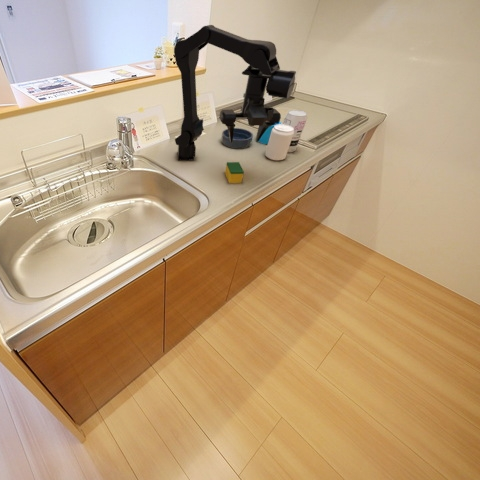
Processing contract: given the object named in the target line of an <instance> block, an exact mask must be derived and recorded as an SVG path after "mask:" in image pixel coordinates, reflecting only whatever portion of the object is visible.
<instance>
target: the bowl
mask: <svg viewBox="0 0 480 480" xmlns="http://www.w3.org/2000/svg"><path fill="white" fill-rule="evenodd" d="M253 137H254V134H253V132H251V131H250V130H248V129H245V128H241V127H240V128H239V127H234V133H233V140H232V143H231V142H230V138H229V133H228V128H226V129H224V130H222V132H221V140H220V141H221V143H222V144H223V145H224V146H225V147H228V148H231V149H236V150H238V149H245V148H249V147H250V146H251V145H252V143H253Z"/></svg>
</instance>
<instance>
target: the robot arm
mask: <svg viewBox="0 0 480 480" xmlns="http://www.w3.org/2000/svg"><path fill="white" fill-rule="evenodd" d="M207 45H211V46H213V47H216V48H219V49H221V50H224V51H226V52H229V53H231V54H234V55H236V56H238V57H240V58H241V59H242V60H243V61H244V62H245V63H246V64H248V66H247V67H246V68H245V69H244V70H243V71H242V72H241V74H242V75H244V76H248V77H247V81H246V85H245V86H246V87H245V92H244V93H243V95H242V97H243V101H242V106H241V107H240V112H235V111H234V110H233V109H221V110H220V111H219V116H218V119H219V121H220V122H221V124H223V125H224V126H225V127H226V129H228V133H229V138H230V142H231V143H232V140H233V133H234V128H236V124H235V123H236V122H237V121H238V120H247V123H248V125H249V126H250V127H255V126H258V127H257V132H256V137H255V141H256V143H259V142H258V141H259V140H260V138H261V137H262V135H263V134H264V132H265V131H266V130H267V128H268V127H270V126H272V125H275V123H279V122H281V118H282V115H281V113H280V112H279V110H277V109H276V108H274V107H273V106H272V107H267V106H265V99H266V98H264V97H265V92H266V94H267V95H268V96H270V97H276V98H280V99H287V100H288V99H290V97H291V95H292V93H293V90H294V88H295V85H296V83H295V82H296V74H297V71H296V70H283V69H281V66H280V63H279V60H278V58H277V48H276V44H275V43H274V42H272V41H269V40H260V39H249V38H246V37H242V36H240V35H237V34H235V33H232V32H230V31H227V30H224V29H221V28H219V27H216V26H214V25H213V24H207V25H203V26H202V27H201V28H200V29H198V31H196V32H195V33H193V34H191V35H190V36H189V37H188V36H187V38H184V39H181V40H178V41H177V42H176V44H175V46H174V48H173V54H174V59H175V64H176V66H177V68H178V70H179V72H180V78H181V91H182V92H181V93H182V106H183V120H182V123H181V127H180V135H178V136H177V137H176V138H175V139H174V142H175V143H174V144H175V145H176V146H177V152H176V155H177V160H178V161H195V157H196V150H197V147H196V144H195V142H196V141H197V140H198V139H199V138H200V137H201V136H202V135H203V131H204V130H205V129H204V119H203V118H201V119H200V117H199V115H198V103H197V83H196V82H197V79H196V69H197V66H198V62H199V59H200V58H199V57H200V51H201V50H203V49H204V48H205V47H206V46H207ZM236 120H237V121H236Z"/></svg>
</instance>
